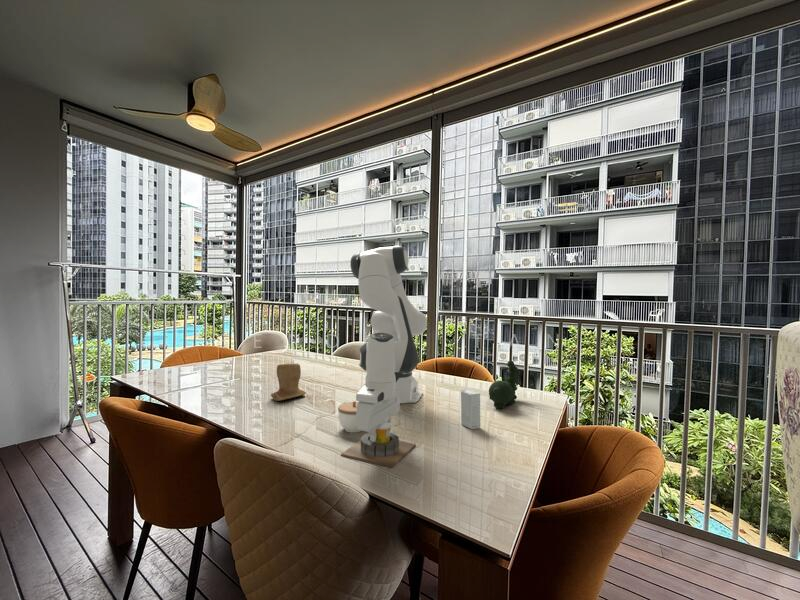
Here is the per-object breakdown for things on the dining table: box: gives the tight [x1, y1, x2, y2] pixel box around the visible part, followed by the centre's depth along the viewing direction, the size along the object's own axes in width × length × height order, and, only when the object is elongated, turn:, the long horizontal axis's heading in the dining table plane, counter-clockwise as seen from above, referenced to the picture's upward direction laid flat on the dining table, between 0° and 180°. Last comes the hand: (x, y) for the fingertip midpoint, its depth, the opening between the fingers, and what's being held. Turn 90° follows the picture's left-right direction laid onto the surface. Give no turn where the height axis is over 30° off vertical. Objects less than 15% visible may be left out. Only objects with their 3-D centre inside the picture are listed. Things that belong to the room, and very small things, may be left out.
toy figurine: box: [488, 360, 519, 410], centre depth 157 cm, size 9×19×25 cm
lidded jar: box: [337, 400, 362, 433], centre depth 126 cm, size 11×11×9 cm
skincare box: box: [460, 389, 481, 430], centre depth 131 cm, size 6×4×12 cm
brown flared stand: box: [270, 363, 307, 402], centre depth 162 cm, size 15×12×15 cm
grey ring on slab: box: [340, 432, 417, 469], centre depth 109 cm, size 16×16×4 cm
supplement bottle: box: [371, 415, 391, 443], centre depth 109 cm, size 5×5×10 cm
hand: (379, 436), depth 109 cm, fingers closed on supplement bottle, 5 cm apart
